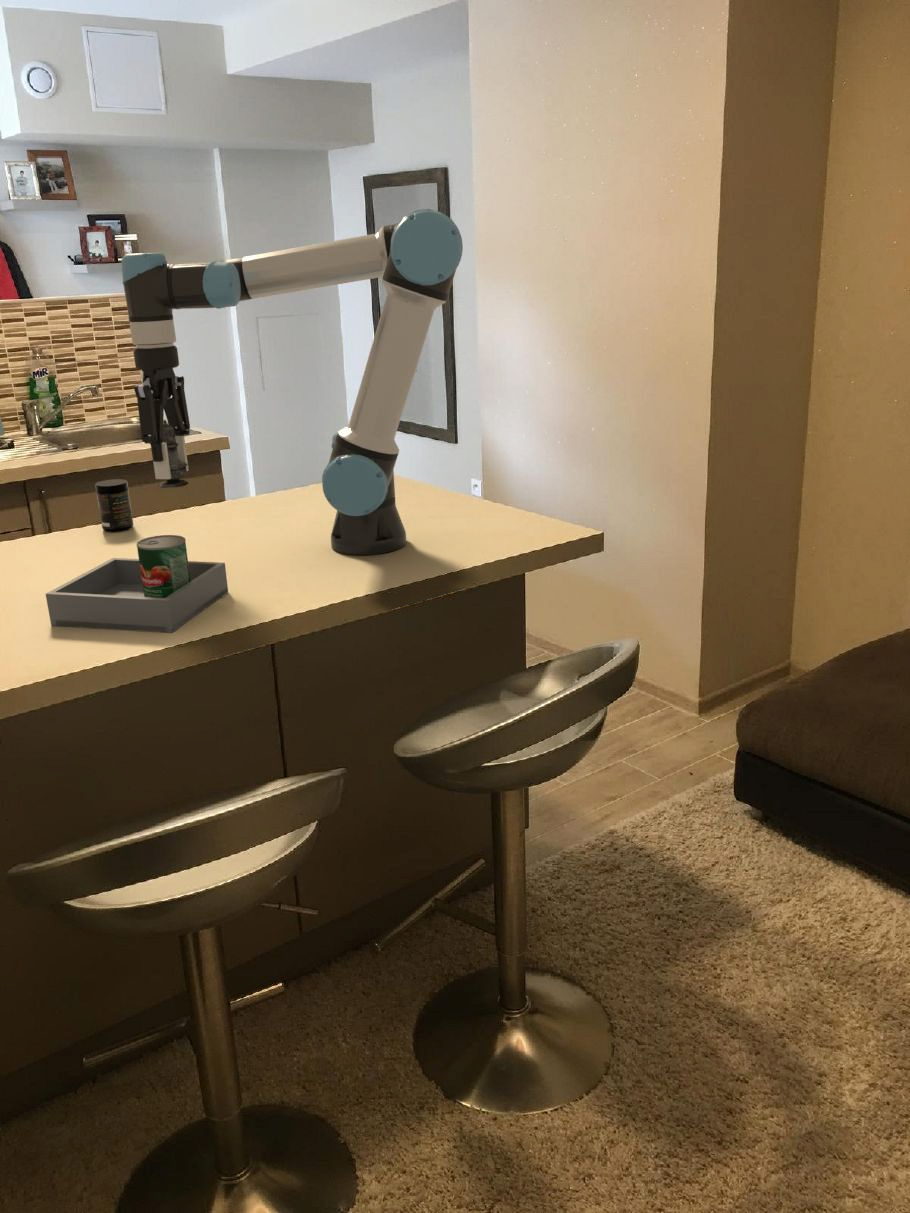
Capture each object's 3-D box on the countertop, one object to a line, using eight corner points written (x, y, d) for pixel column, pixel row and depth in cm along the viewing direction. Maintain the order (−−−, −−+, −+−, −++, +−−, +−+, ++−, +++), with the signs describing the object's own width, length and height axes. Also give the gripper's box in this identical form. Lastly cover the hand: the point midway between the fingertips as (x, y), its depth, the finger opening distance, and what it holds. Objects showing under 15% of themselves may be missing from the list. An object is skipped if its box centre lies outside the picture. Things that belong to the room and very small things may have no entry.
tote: (228, 592, 179) (224, 562, 177) (172, 633, 161) (167, 600, 159) (117, 586, 184) (113, 557, 182) (51, 625, 166) (45, 593, 164)
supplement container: (140, 526, 225) (134, 480, 221) (119, 534, 219) (111, 487, 216) (117, 523, 228) (110, 478, 224) (95, 531, 222) (88, 485, 218)
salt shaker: (181, 488, 184) (172, 422, 180) (151, 488, 185) (141, 422, 181) (195, 481, 189) (186, 416, 185) (166, 481, 190) (157, 417, 186)
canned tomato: (199, 595, 175) (192, 534, 171) (185, 611, 167) (176, 547, 163) (154, 596, 175) (146, 534, 171) (138, 611, 168) (129, 548, 164)
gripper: (162, 340, 188) (179, 463, 196) (106, 351, 171) (126, 486, 179) (199, 339, 186) (214, 464, 194) (146, 350, 169) (165, 486, 177)
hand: (172, 474), depth 186 cm, fingers closed on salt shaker, 6 cm apart
